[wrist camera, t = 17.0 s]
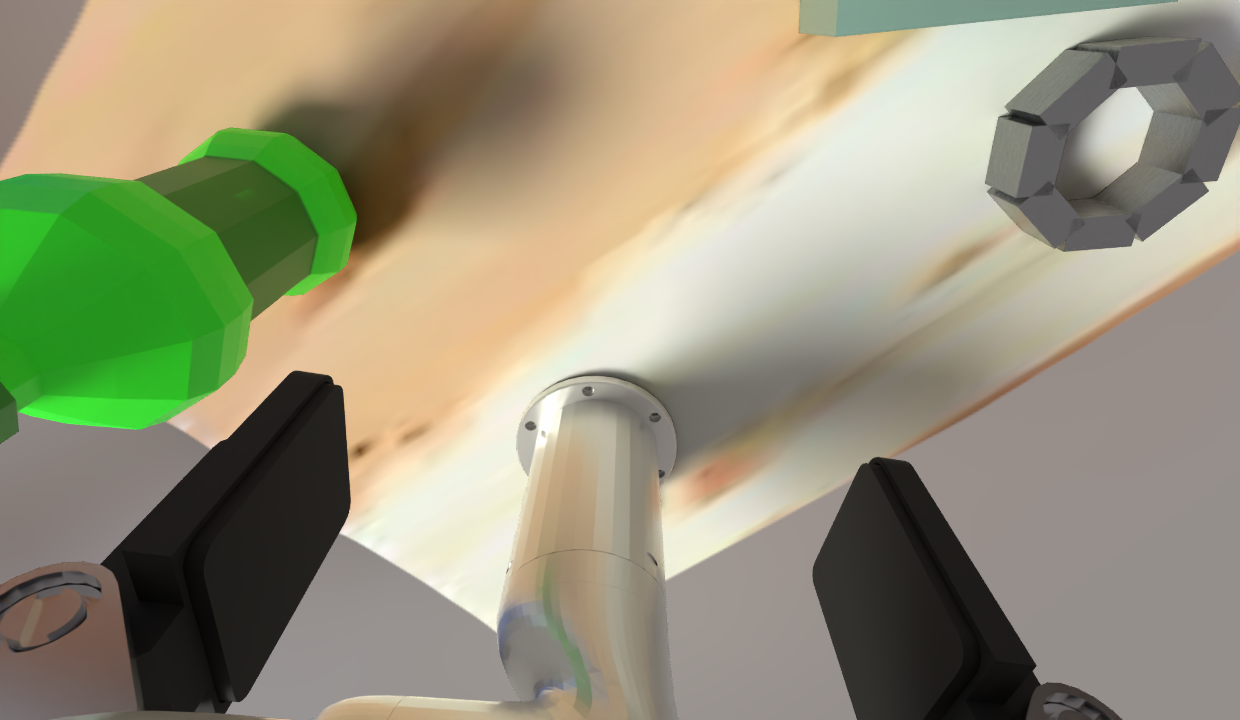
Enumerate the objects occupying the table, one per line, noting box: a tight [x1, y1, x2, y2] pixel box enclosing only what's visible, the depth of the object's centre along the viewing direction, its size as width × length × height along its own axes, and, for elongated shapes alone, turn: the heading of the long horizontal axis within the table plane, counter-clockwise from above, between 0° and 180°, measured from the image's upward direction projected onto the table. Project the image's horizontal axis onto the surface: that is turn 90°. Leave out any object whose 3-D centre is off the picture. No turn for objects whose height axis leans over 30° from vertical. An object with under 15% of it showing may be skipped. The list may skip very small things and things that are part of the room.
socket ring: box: [985, 37, 1240, 252], centre depth 35 cm, size 11×11×4 cm
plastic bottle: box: [0, 128, 357, 444], centre depth 28 cm, size 10×10×25 cm
